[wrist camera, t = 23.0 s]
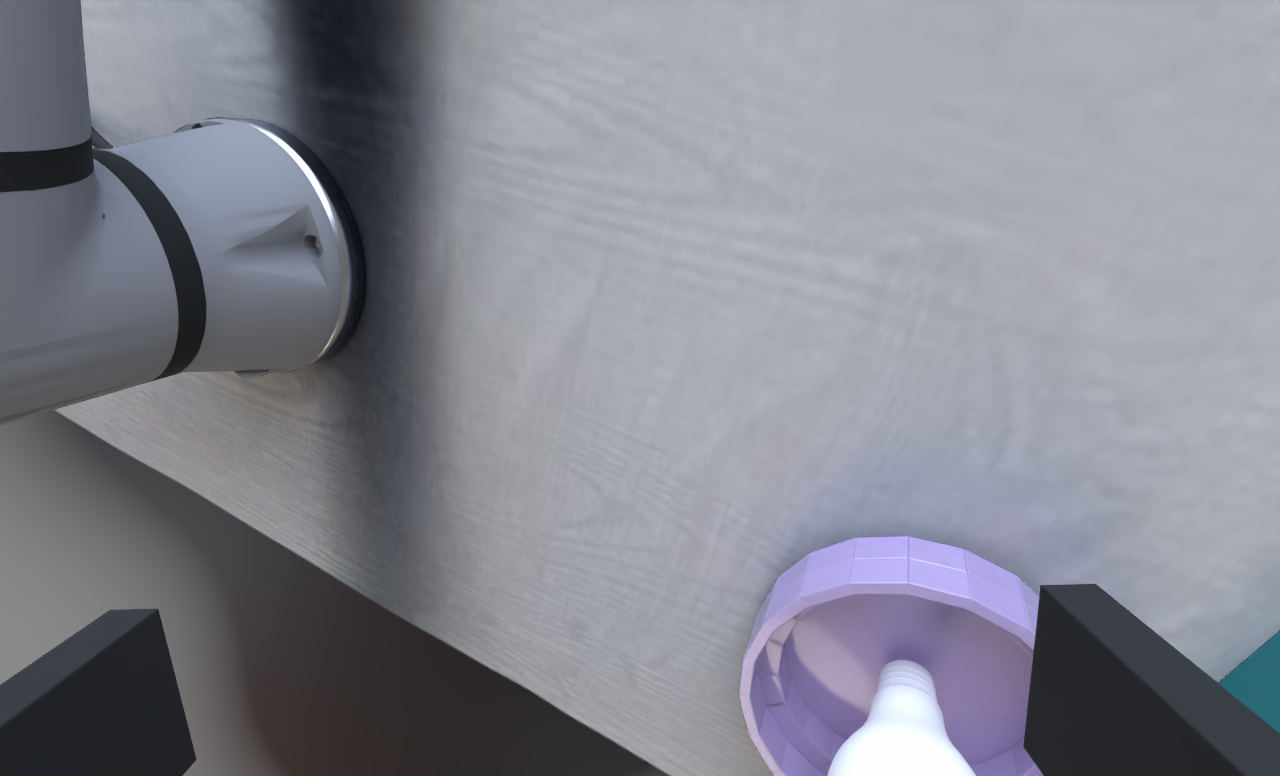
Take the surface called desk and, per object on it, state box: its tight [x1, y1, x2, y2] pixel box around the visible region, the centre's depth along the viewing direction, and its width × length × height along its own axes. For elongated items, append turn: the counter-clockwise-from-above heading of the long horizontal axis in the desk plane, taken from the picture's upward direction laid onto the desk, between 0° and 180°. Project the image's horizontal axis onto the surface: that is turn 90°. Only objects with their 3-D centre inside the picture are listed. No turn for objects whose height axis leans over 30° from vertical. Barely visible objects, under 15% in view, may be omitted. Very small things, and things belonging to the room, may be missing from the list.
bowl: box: [739, 536, 1043, 776], centre depth 31 cm, size 15×15×4 cm
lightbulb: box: [827, 660, 976, 776], centre depth 28 cm, size 6×6×11 cm
